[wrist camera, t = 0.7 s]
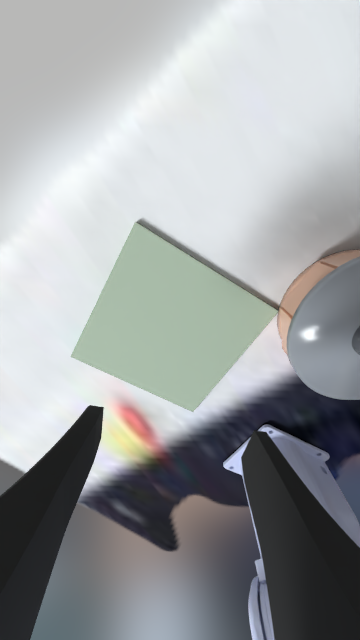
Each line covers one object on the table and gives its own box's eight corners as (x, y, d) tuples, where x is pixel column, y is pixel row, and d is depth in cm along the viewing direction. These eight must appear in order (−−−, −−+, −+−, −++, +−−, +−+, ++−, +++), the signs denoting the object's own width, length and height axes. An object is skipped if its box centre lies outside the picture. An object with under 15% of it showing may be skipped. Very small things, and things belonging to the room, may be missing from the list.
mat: (276, 309, 19) (278, 311, 19) (192, 408, 24) (193, 411, 24) (136, 221, 16) (135, 222, 16) (72, 354, 21) (70, 356, 21)
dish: (430, 292, 19) (479, 308, 16) (335, 377, 22) (360, 404, 19) (342, 222, 16) (379, 225, 13) (253, 329, 20) (266, 351, 17)
